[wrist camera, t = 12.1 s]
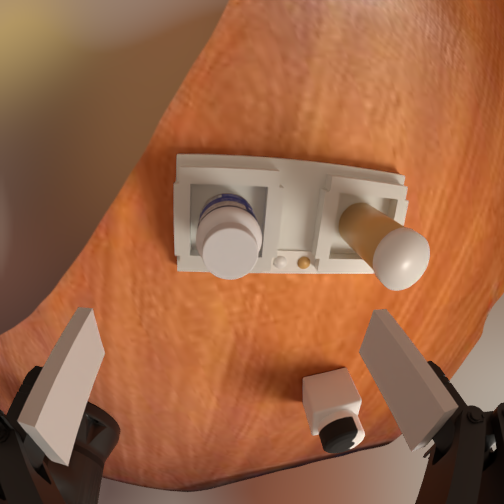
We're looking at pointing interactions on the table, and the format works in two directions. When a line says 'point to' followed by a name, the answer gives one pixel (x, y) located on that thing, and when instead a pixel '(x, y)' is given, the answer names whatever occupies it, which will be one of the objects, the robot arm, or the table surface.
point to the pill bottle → (228, 236)
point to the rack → (305, 216)
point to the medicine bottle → (333, 409)
